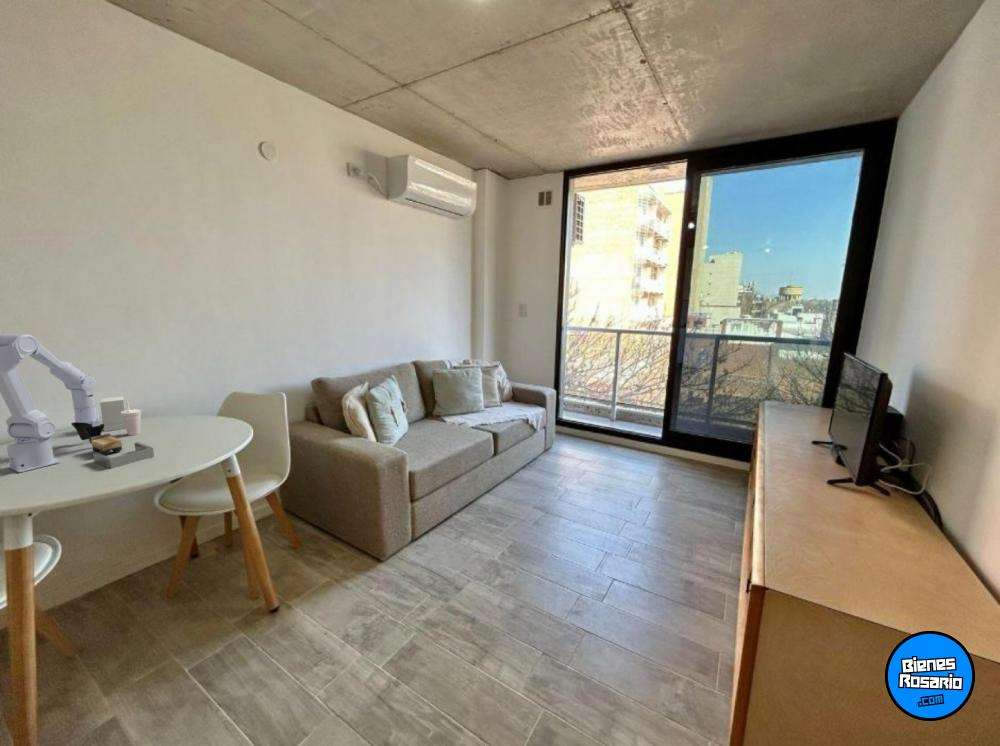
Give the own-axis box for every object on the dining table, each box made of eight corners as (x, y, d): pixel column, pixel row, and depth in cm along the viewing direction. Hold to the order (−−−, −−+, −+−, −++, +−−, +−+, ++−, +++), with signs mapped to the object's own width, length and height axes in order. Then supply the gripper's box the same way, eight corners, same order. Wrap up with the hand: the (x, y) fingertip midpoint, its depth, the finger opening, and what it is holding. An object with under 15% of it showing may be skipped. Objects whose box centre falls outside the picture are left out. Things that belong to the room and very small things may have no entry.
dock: (110, 468, 134) (108, 459, 134) (94, 461, 139) (92, 453, 138) (154, 456, 145) (153, 447, 145) (138, 450, 150) (137, 442, 149)
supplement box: (127, 428, 172) (123, 399, 170) (103, 431, 167) (99, 402, 165) (127, 423, 178) (123, 396, 175) (103, 427, 173) (99, 398, 170)
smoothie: (120, 434, 165) (115, 401, 162) (140, 430, 170) (135, 398, 168) (127, 437, 162) (123, 403, 159) (147, 433, 168) (143, 400, 165)
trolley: (102, 457, 143) (100, 442, 142) (91, 452, 146) (88, 437, 145) (124, 451, 148) (122, 437, 147) (113, 447, 152) (110, 433, 151)
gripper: (108, 407, 151) (113, 441, 153) (90, 401, 157) (95, 434, 159) (82, 411, 144) (88, 447, 147) (64, 405, 150) (70, 440, 153)
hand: (90, 441), depth 153 cm, fingers open, 7 cm apart
